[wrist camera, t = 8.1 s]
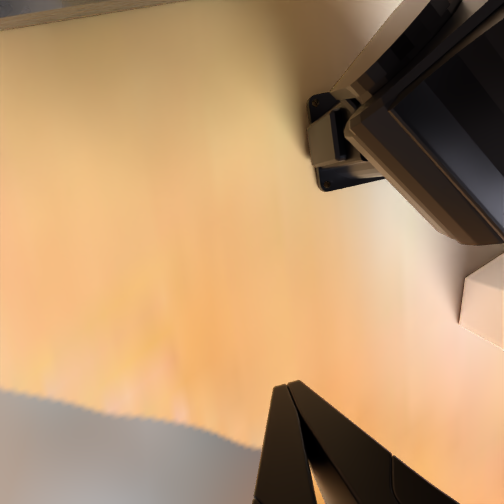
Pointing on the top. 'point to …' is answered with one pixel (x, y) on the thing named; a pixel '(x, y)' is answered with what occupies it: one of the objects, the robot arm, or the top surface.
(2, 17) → the shaft stand
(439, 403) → the top surface
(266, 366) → the top surface
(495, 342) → the jar
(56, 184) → the top surface
